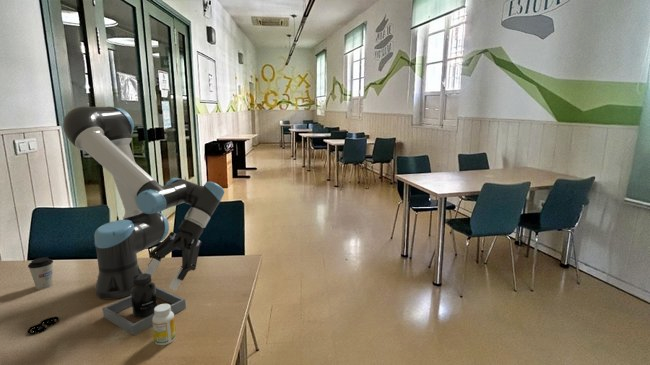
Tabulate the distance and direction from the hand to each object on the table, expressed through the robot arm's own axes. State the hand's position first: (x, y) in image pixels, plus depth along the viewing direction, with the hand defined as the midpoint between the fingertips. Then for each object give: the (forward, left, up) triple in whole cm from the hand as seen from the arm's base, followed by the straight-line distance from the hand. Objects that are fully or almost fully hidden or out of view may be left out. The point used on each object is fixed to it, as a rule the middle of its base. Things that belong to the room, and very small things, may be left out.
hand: (158, 284), depth 108 cm
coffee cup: (-49, -14, -9) cm, 52 cm away
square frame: (-2, -4, -9) cm, 10 cm away
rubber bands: (-20, -24, -9) cm, 32 cm away
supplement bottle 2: (+15, -8, -9) cm, 19 cm away
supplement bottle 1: (-2, -4, -9) cm, 10 cm away
